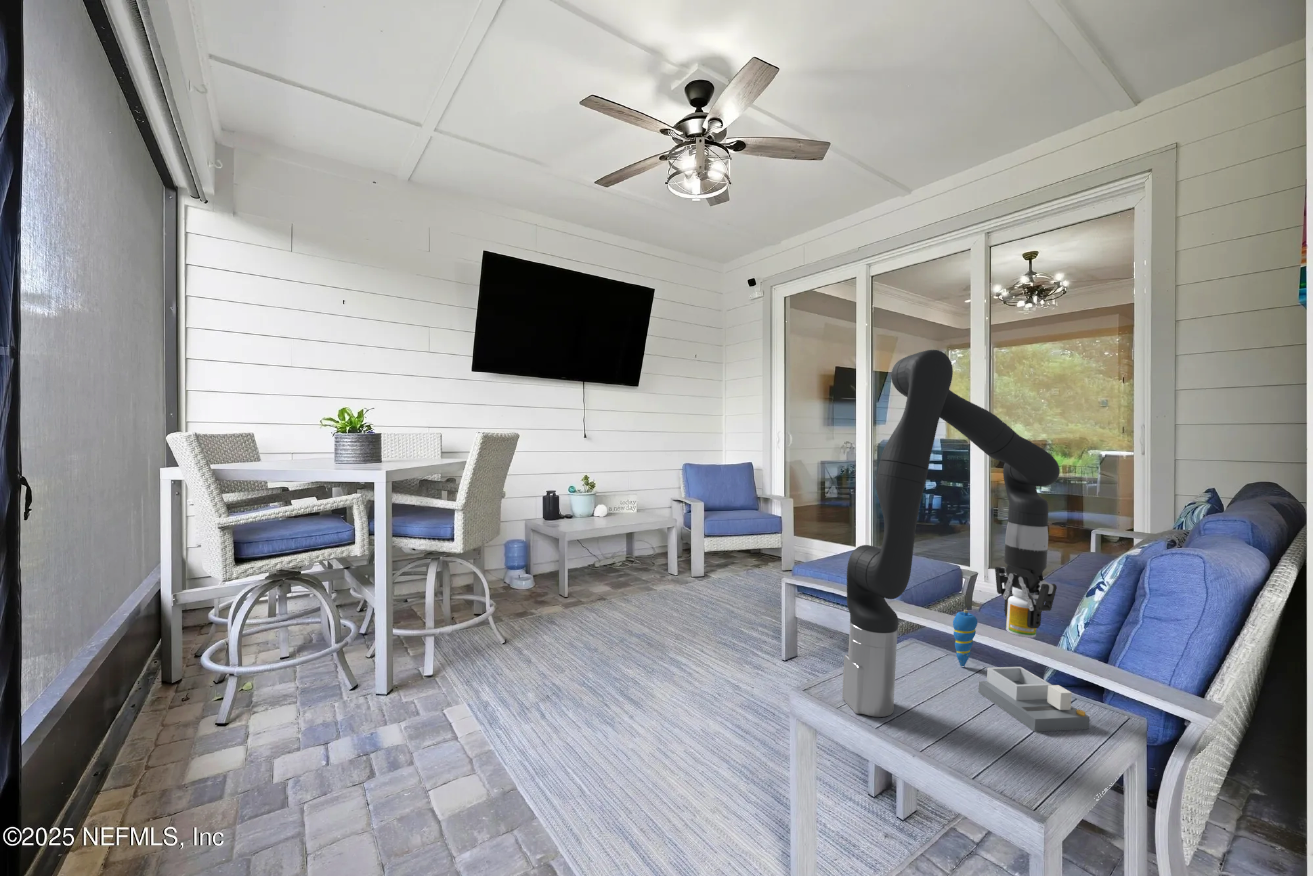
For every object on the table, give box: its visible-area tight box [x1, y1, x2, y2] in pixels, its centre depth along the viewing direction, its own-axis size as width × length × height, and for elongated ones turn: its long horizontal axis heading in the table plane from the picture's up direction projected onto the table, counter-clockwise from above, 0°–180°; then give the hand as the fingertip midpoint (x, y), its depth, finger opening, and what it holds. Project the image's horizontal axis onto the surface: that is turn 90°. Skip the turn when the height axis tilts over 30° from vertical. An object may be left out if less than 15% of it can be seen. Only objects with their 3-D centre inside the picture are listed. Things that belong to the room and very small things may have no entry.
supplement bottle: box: [1005, 587, 1038, 639], centre depth 115 cm, size 5×5×10 cm
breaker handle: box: [1047, 684, 1073, 710], centre depth 109 cm, size 2×3×4 cm
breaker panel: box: [978, 666, 1090, 733], centre depth 112 cm, size 12×15×6 cm
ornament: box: [952, 607, 978, 667], centre depth 131 cm, size 5×5×15 cm
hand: (1021, 621), depth 115 cm, fingers closed on supplement bottle, 5 cm apart
